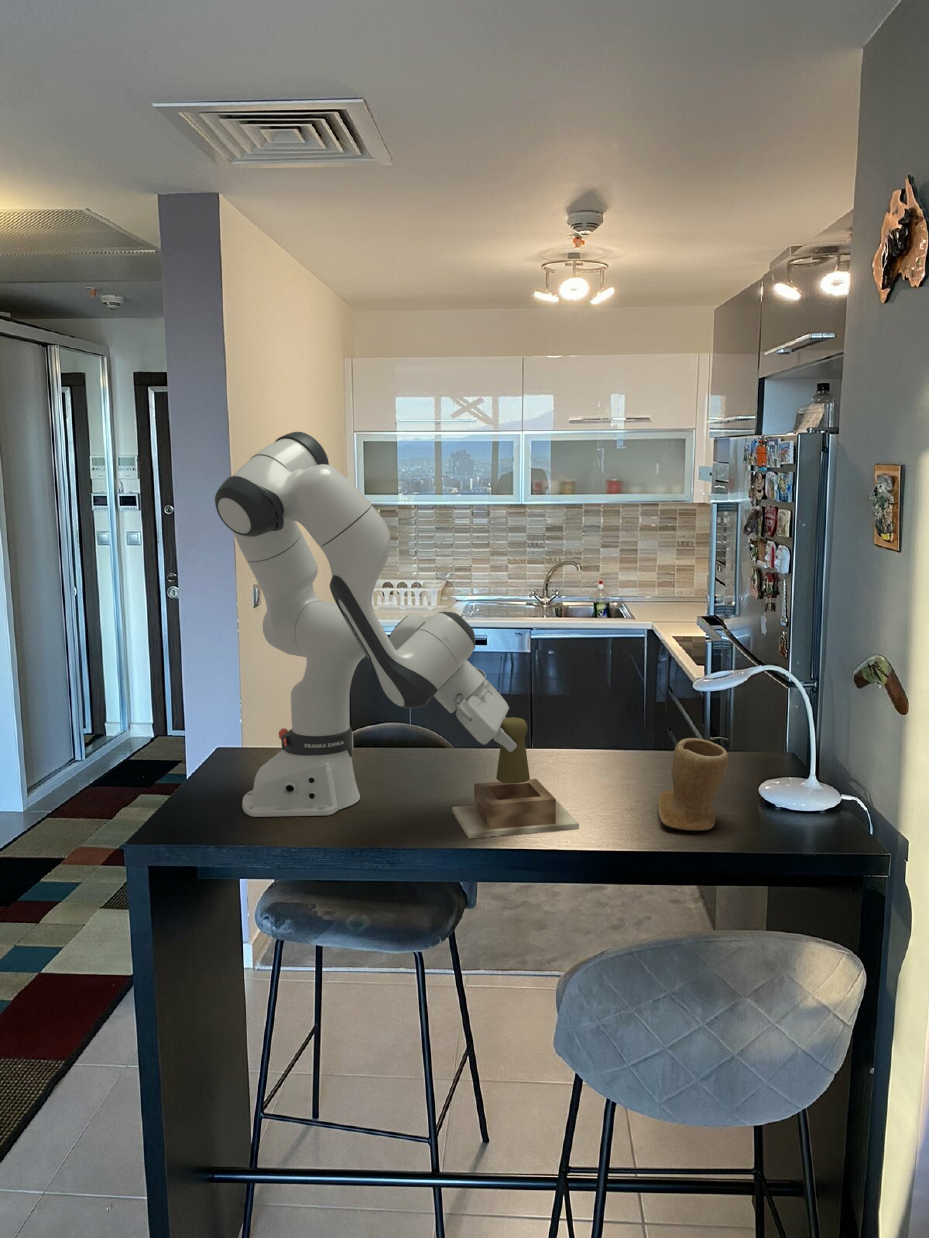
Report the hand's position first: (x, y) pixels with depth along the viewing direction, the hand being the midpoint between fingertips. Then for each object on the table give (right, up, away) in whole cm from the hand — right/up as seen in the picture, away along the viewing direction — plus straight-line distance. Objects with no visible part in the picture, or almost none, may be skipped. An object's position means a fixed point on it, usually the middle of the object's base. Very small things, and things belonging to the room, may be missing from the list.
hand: (516, 744), depth 173 cm
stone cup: (+32, -14, +2) cm, 35 cm away
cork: (-1, -6, +1) cm, 6 cm away
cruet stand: (0, -14, +3) cm, 14 cm away
